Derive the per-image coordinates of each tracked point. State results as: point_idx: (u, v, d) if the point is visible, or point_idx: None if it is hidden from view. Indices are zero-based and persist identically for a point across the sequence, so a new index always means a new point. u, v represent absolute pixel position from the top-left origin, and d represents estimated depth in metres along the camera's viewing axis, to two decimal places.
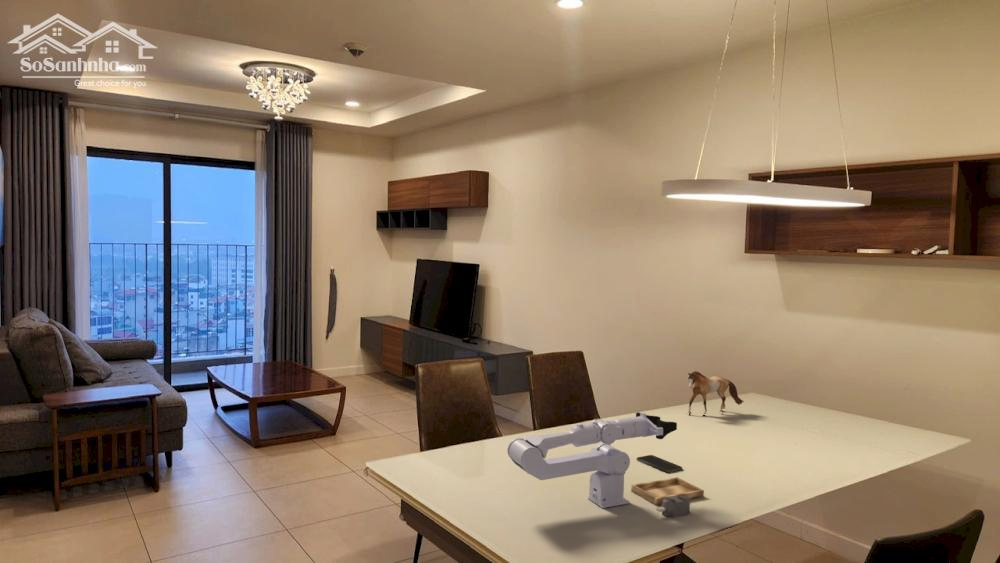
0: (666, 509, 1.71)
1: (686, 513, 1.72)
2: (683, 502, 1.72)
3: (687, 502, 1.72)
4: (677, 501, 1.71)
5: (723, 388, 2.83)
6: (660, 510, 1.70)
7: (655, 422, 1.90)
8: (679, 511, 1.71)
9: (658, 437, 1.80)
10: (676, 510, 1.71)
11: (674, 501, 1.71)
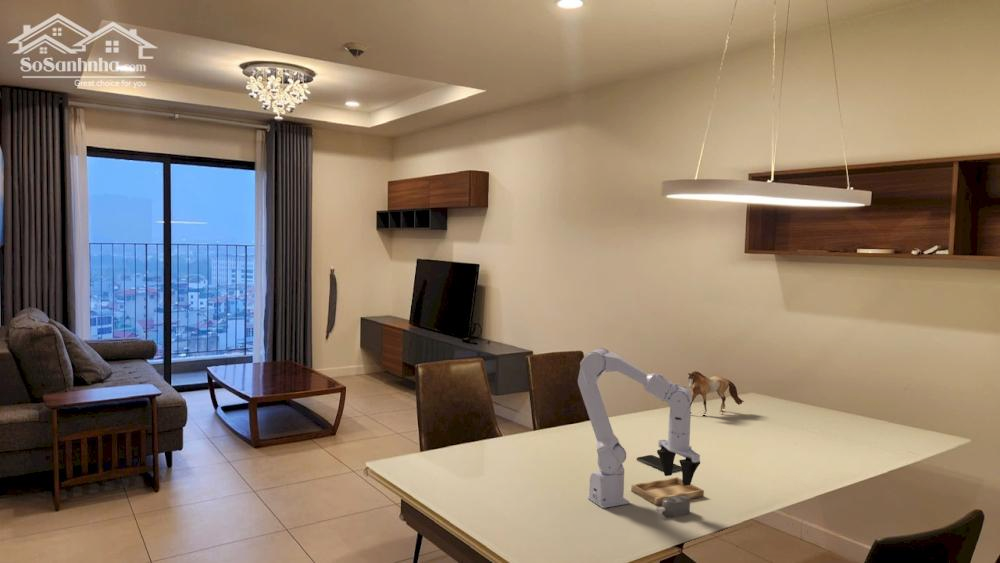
0: (666, 509, 1.71)
1: (686, 513, 1.72)
2: (683, 502, 1.72)
3: (687, 502, 1.72)
4: (677, 501, 1.71)
5: (723, 388, 2.83)
6: (660, 510, 1.70)
7: (667, 469, 1.76)
8: (679, 511, 1.71)
9: (683, 461, 1.67)
10: (676, 510, 1.71)
11: (674, 501, 1.71)
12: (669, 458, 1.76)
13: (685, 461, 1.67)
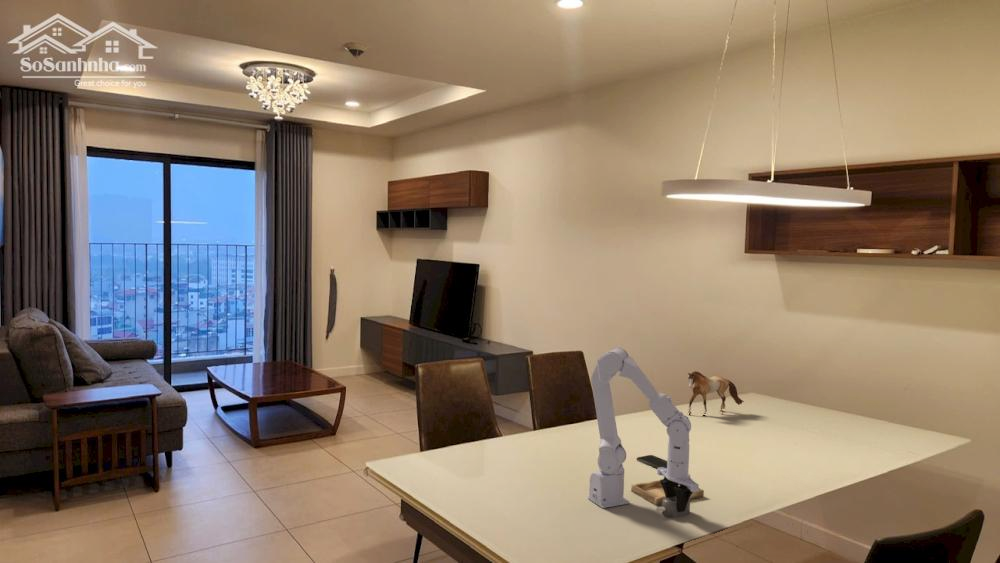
0: (666, 509, 1.71)
1: (686, 513, 1.72)
2: None
3: None
4: None
5: (723, 388, 2.83)
6: (660, 510, 1.70)
7: None
8: None
9: (678, 488, 1.69)
10: (676, 510, 1.71)
11: (674, 501, 1.71)
12: (672, 488, 1.75)
13: (679, 488, 1.69)
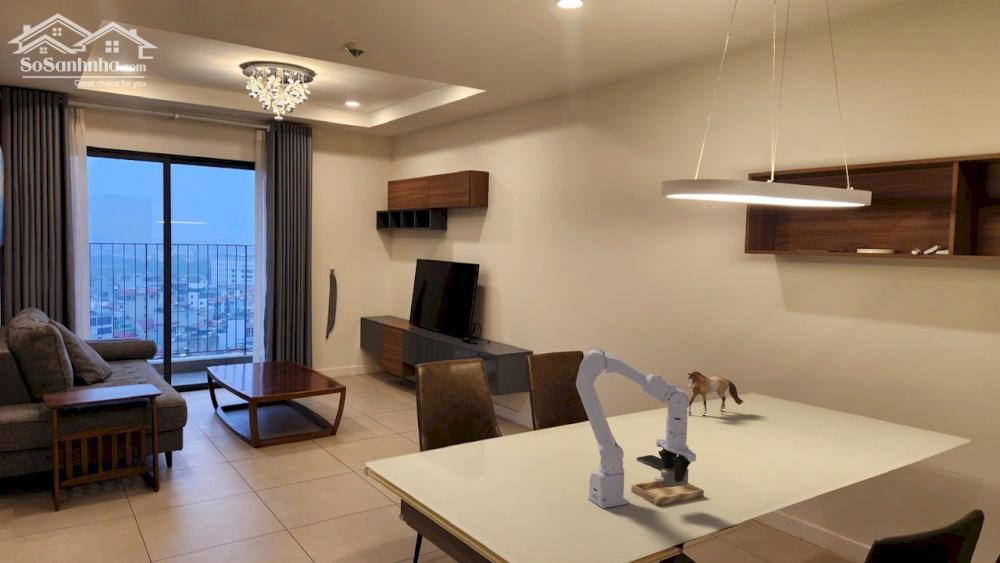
0: (664, 478, 1.74)
1: (684, 483, 1.76)
2: None
3: None
4: None
5: (723, 388, 2.83)
6: (658, 480, 1.74)
7: None
8: None
9: (676, 458, 1.72)
10: (674, 480, 1.74)
11: (672, 471, 1.75)
12: (670, 459, 1.78)
13: (677, 458, 1.72)
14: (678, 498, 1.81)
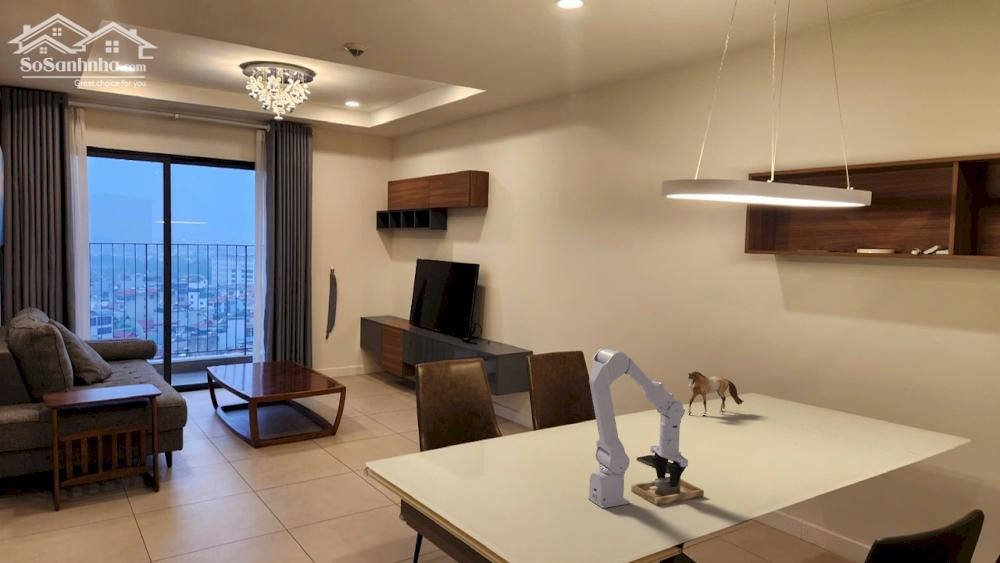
0: (658, 488, 1.84)
1: (677, 492, 1.86)
2: None
3: None
4: (668, 481, 1.85)
5: (723, 388, 2.83)
6: (653, 489, 1.84)
7: (660, 474, 1.89)
8: (671, 490, 1.85)
9: (671, 464, 1.82)
10: (668, 489, 1.85)
11: (666, 481, 1.85)
12: (662, 463, 1.89)
13: (672, 465, 1.82)
14: (678, 498, 1.81)
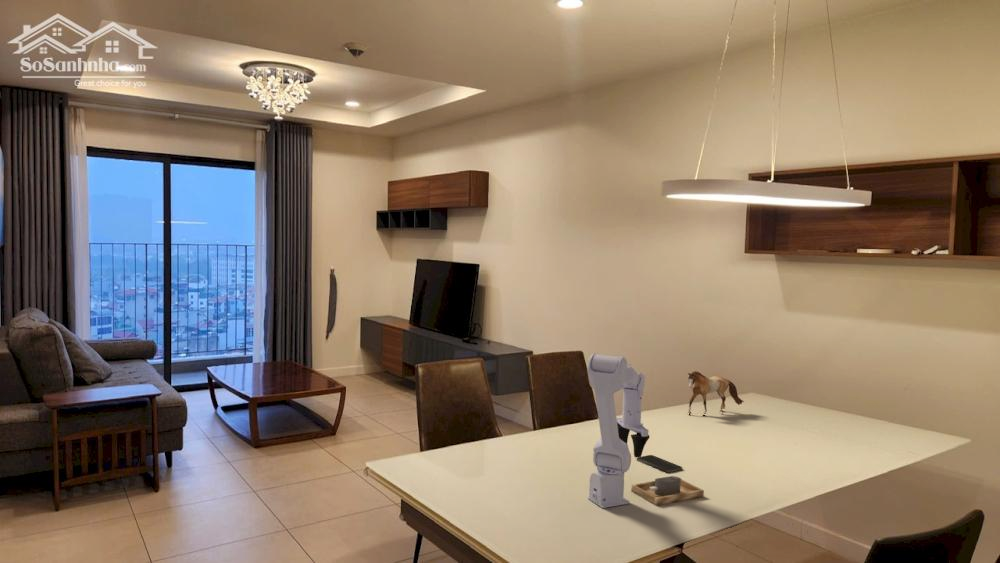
0: (658, 488, 1.84)
1: (677, 492, 1.86)
2: (674, 481, 1.85)
3: (678, 482, 1.86)
4: (668, 481, 1.85)
5: (723, 388, 2.83)
6: (653, 489, 1.84)
7: None
8: (671, 490, 1.85)
9: (634, 435, 1.90)
10: (668, 489, 1.85)
11: (666, 481, 1.85)
12: (624, 434, 1.98)
13: (636, 435, 1.89)
14: (678, 498, 1.81)
